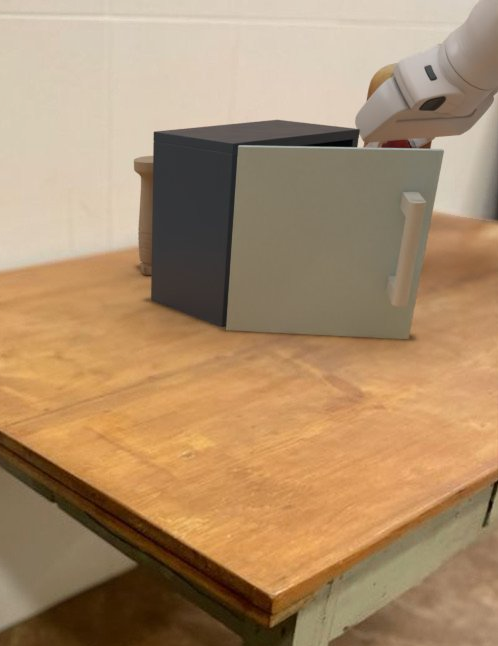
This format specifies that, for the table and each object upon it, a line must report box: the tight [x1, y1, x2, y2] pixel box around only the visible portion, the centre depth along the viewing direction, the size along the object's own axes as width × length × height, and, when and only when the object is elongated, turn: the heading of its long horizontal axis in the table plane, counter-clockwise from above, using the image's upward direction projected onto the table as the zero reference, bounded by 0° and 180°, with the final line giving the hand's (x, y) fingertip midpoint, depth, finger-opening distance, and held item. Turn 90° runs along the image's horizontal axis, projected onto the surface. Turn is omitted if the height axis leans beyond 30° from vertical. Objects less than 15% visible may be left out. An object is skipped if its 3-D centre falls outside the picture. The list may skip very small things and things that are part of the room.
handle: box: [133, 155, 153, 276], centre depth 111 cm, size 5×6×15 cm
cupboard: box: [150, 119, 360, 328], centre depth 98 cm, size 13×20×20 cm, turn 127°
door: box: [225, 145, 445, 340], centre depth 84 cm, size 7×20×20 cm, turn 81°
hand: (387, 152), depth 117 cm, fingers closed on onion, 5 cm apart
